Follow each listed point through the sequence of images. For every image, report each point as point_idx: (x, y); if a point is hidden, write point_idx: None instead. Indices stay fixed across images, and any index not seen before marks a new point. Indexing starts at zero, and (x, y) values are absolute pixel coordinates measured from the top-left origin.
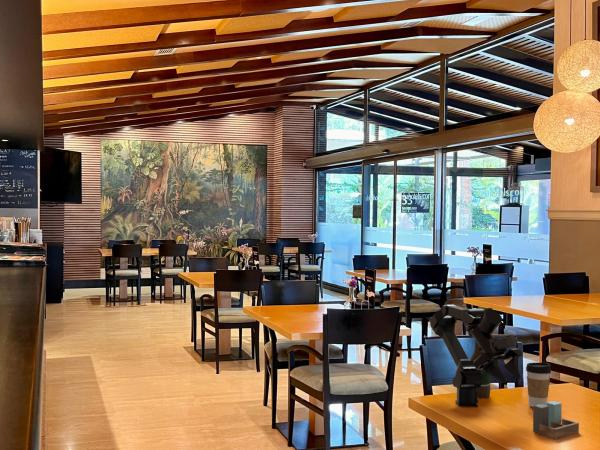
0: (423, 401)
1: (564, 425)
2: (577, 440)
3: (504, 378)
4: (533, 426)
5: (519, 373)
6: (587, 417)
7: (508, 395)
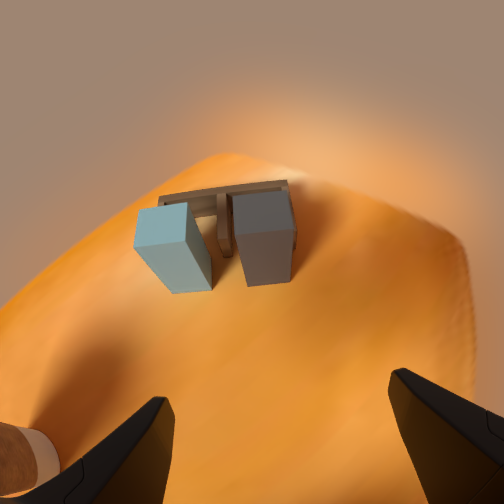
0: None
1: (221, 194)
2: (232, 177)
3: (420, 376)
4: (290, 273)
5: (128, 421)
6: (30, 298)
7: None
